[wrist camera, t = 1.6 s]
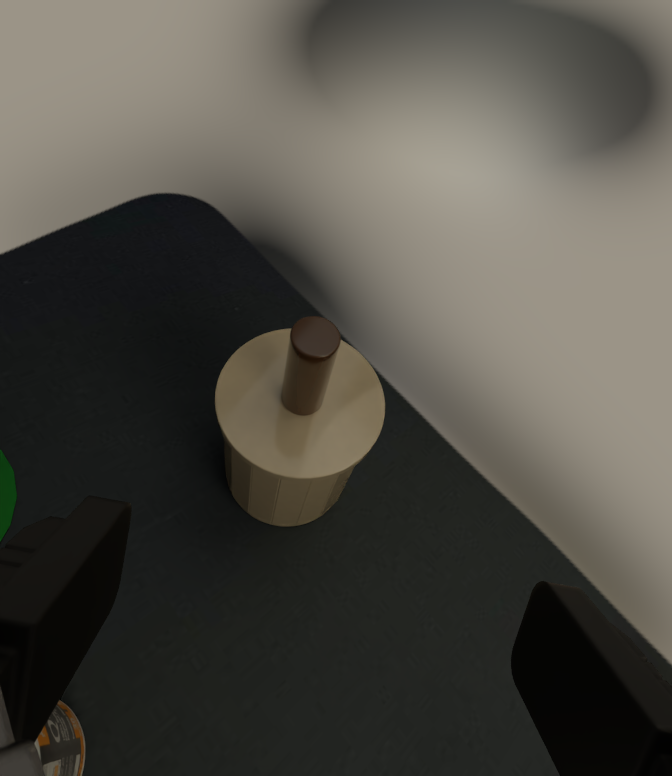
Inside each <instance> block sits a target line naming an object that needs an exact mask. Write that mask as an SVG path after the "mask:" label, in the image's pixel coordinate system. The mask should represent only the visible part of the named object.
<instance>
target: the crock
mask: <svg viewBox="0 0 672 776" xmlns="http://www.w3.org/2000/svg"><path fill="white" fill-rule="evenodd" d="M224 455H225V474H226V477H227V482H228V486H229V488H230V491H231V493H232V495H233V497H234V498H235V500H236V501H237V503H238V504H239V505H240V506H241V507H242V508H243V509H244V510H245V511H246V512H247V513H248V514H250V515H251V516H252V517H254V518H256V519H258V520H259V521H262V522H264V523H267V524H271V525H275V526H283V527H285V526H298V525H302V524H306V523H309V522H311V521H313V520H315V519H317V518H319V517H320V516H322V515H323V514H324V513H326V512H327V511H328V510H329V509H330V508H331V507H332V506H333V504H334V503H335V502H336V501H337V500H338V498H339V496H340V494H341V492H342V490H343V488H344V486H345V484H346V482H347V480H348V478H349V476H350V474H351V472H352V470H353V468H354V467H353V468H351V469H349V470H347V471H346V472H344V473H342V474H340V475H337V476H335V477H332V478H328V479H325V480H320V481H312V482H295V481H287V480H282V479H278V478H275V477H272V476H269V475H267V474H264V473H262V472H260V471H258V470H257V469H255V468H253V467H251V466H250V465H249V464H247V463H246V462H245V461H243V460H242V459H241V458H240V457H239V456H238V455H237V454H236V453H235V452H234V451H233V450H232V448H231V447H230V446H229V445H228V443H227V441H226V440H225V438H224Z"/></svg>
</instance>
